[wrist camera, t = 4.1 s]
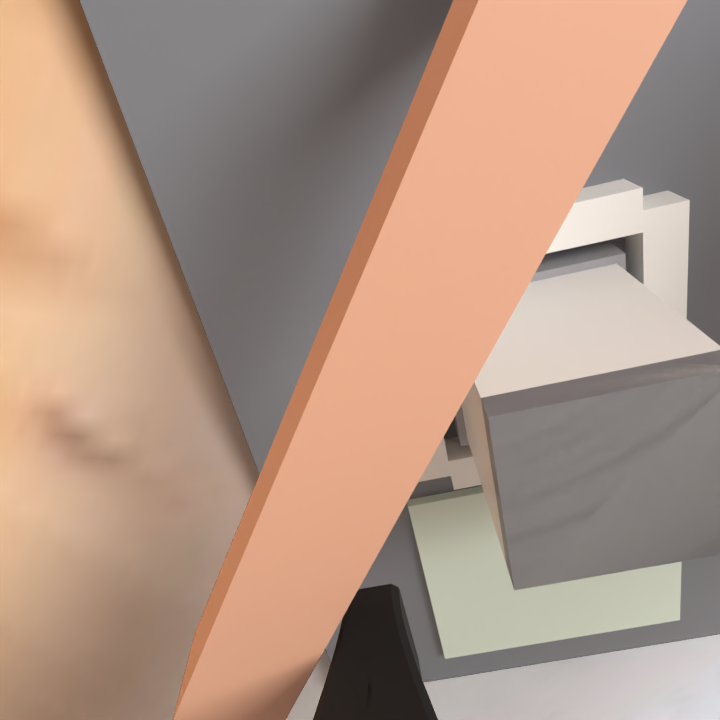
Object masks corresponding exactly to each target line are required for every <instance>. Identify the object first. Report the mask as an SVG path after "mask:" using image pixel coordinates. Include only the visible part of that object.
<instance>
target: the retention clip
mask: <svg viewBox="0 0 720 720" xmlns="http://www.w3.org/2000/svg"><path fill="white" fill-rule="evenodd" d="M686 2H687V0H453V2H452V5H451V7H450V10H449V12H448V14H447V17H446V19H445V22H444V24H443V27H442V29H441V32H440V34H439V36H438V39H437V41H436V44H435V46H434V49H433V51H432V54H431V56H430V59H429V61H428V63H427V66H426V68H425V71H424V73H423V76H422V78H421V81H420V83H419V85H418V88H417V90H416V93H415V95H414V98H413V100H412V103H411V105H410V108H409V110H408V112H407V115H406V117H405V120H404V122H403V125H402V127H401V130H400V132H399V135H398V137H397V139H396V142H395V144H394V147H393V149H392V152H391V154H390V157H389V159H388V161H387V164H386V166H385V169H384V171H383V174H382V176H381V179H380V181H379V184H378V186H377V188H376V191H375V193H374V196H373V198H372V201H371V203H370V206H369V208H368V210H367V213H366V215H365V218H364V220H363V223H362V225H361V228H360V230H359V233H358V235H357V237H356V240H355V242H354V245H353V247H352V250H351V252H350V255H349V257H348V260H347V262H346V264H345V267H344V269H343V272H342V274H341V277H340V279H339V282H338V284H337V286H336V289H335V291H334V294H333V296H332V299H331V301H330V304H329V306H328V309H327V311H326V313H325V316H324V318H323V321H322V323H321V326H320V328H319V331H318V333H317V335H316V338H315V340H314V343H313V345H312V348H311V350H310V353H309V355H308V358H307V360H306V362H305V365H304V367H303V370H302V372H301V375H300V377H299V380H298V382H297V385H296V387H295V389H294V392H293V394H292V397H291V399H290V402H289V404H288V407H287V409H286V411H285V414H284V416H283V419H282V421H281V424H280V426H279V429H278V431H277V434H276V436H275V438H274V441H273V443H272V446H271V448H270V451H269V453H268V456H267V458H266V460H265V463H264V465H263V468H262V470H261V473H260V475H259V478H258V480H257V483H256V485H255V487H254V490H253V492H252V495H251V497H250V500H249V502H248V505H247V507H246V510H245V512H244V514H243V517H242V519H241V522H240V524H239V527H238V529H237V532H236V534H235V536H234V539H233V541H232V544H231V546H230V549H229V551H228V554H227V556H226V559H225V561H224V563H223V566H222V568H221V571H220V573H219V576H218V578H217V581H216V583H215V585H214V588H213V590H212V593H211V595H210V598H209V600H208V603H207V605H206V608H205V610H204V612H203V615H202V617H201V620H200V622H199V625H198V627H197V630H196V632H195V635H194V639H193V643H192V647H191V651H190V655H189V659H188V662H187V666H186V670H185V674H184V678H183V682H182V686H181V690H180V693H179V697H178V701H177V705H176V709H175V713H174V717H173V720H286V718H287V716H288V714H289V713H290V711H291V709H292V707H293V705H294V704H295V702H296V700H297V698H298V696H299V695H300V693H301V691H302V689H303V688H304V686H305V684H306V682H307V680H308V679H309V677H310V675H311V673H312V671H313V670H314V668H315V666H316V664H317V662H318V661H319V659H320V657H321V655H322V654H323V652H324V650H325V648H326V646H327V645H328V643H329V641H330V639H331V637H332V636H333V634H334V632H335V630H336V628H337V627H338V625H339V623H340V621H341V620H342V618H343V616H344V614H345V612H346V611H347V609H348V607H349V605H350V603H351V602H352V600H353V598H354V596H355V594H356V593H357V591H358V589H359V587H360V586H361V584H362V582H363V580H364V578H365V577H366V575H367V573H368V571H369V569H370V568H371V566H372V564H373V562H374V560H375V559H376V557H377V555H378V553H379V551H380V550H381V548H382V546H383V544H384V543H385V541H386V539H387V537H388V535H389V534H390V532H391V530H392V528H393V526H394V525H395V523H396V521H397V519H398V517H399V516H400V514H401V512H402V510H403V509H404V507H405V505H406V503H407V501H408V500H409V498H410V496H411V494H412V492H413V491H414V489H415V487H416V485H417V483H418V482H419V480H420V478H421V476H422V475H423V473H424V471H425V469H426V467H427V466H428V464H429V462H430V460H431V458H432V457H433V455H434V453H435V451H436V449H437V448H438V446H439V444H440V442H441V441H442V439H443V437H444V435H445V433H446V432H447V430H448V428H449V426H450V424H451V423H452V421H453V419H454V417H455V415H456V414H457V412H458V410H459V408H460V407H461V405H462V403H463V401H464V399H465V398H466V396H467V394H468V392H469V390H470V389H471V387H472V385H473V383H474V381H475V380H476V378H477V376H478V374H479V373H480V371H481V369H482V367H483V365H484V364H485V362H486V360H487V358H488V356H489V355H490V353H491V351H492V349H493V347H494V346H495V344H496V342H497V340H498V339H499V337H500V335H501V333H502V331H503V330H504V328H505V326H506V324H507V322H508V321H509V319H510V317H511V315H512V313H513V312H514V310H515V308H516V306H517V304H518V303H519V301H520V299H521V297H522V296H523V294H524V292H525V290H526V288H527V287H528V285H529V283H530V281H531V279H532V278H533V276H534V274H535V272H536V270H537V269H538V267H539V265H540V263H541V262H542V260H543V258H544V256H545V254H546V253H547V251H548V249H549V247H550V245H551V244H552V242H553V240H554V238H555V236H556V235H557V233H558V231H559V229H560V228H561V226H562V224H563V222H564V220H565V219H566V217H567V215H568V213H569V211H570V210H571V208H572V206H573V204H574V202H575V201H576V199H577V197H578V195H579V194H580V192H581V190H582V188H583V186H584V185H585V183H586V181H587V179H588V177H589V176H590V174H591V172H592V170H593V168H594V167H595V165H596V163H597V161H598V160H599V158H600V156H601V154H602V152H603V151H604V149H605V147H606V145H607V143H608V142H609V140H610V138H611V136H612V134H613V133H614V131H615V129H616V127H617V126H618V124H619V122H620V120H621V118H622V117H623V115H624V113H625V111H626V109H627V108H628V106H629V104H630V102H631V100H632V99H633V97H634V95H635V93H636V92H637V90H638V88H639V86H640V84H641V83H642V81H643V79H644V77H645V75H646V74H647V72H648V70H649V68H650V66H651V65H652V63H653V61H654V59H655V57H656V56H657V54H658V52H659V50H660V49H661V47H662V45H663V43H664V41H665V40H666V38H667V36H668V34H669V32H670V31H671V29H672V27H673V25H674V23H675V22H676V20H677V18H678V16H679V15H680V13H681V11H682V9H683V7H684V6H685V4H686Z"/></svg>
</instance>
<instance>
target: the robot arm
mask: <svg viewBox="0 0 720 720" xmlns="http://www.w3.org/2000/svg"><path fill="white" fill-rule="evenodd" d="M313 720H438V719H437V716H436V714H435V711H434V709H433V706H432V704H431V701H430V699H429V696H428V694H427V691H426V689H425V686H424V684H423V681H422V676H421V670H420V665H419V659H418V655H417V651H416V648H415V644H414V640H413V637H412V633H411V629H410V626H409V622H408V619H407V615H406V611H405V608H404V604H403V600H402V597H401V593H400V590H399V587H397V586H395V585H393V584H386V585H380V586H375V587H369V588H363V589H358V591H357V593H356V594H355V596H354V598H353V600H352V602H351V603H350V605H349V607H348V609H347V611H346V612H345V614H344V616H343V619H342V623H341V627H340V631H339V635H338V639H337V643H336V647H335V651H334V654H333V658H332V661H331V665H330V668H329V672H328V675H327V678H326V681H325V684H324V688H323V691H322V694H321V697H320V700H319V703H318V706H317V709H316V712H315V715H314V718H313Z"/></svg>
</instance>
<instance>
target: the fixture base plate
mask: <svg viewBox="0 0 720 720" xmlns="http://www.w3.org/2000/svg"><path fill="white" fill-rule="evenodd" d="M452 2H453V0H80V3H81V6H82V8H83V11H84V13H85V16H86V19H87V21H88V24H89V27H90V29H91V32H92V35H93V37H94V40H95V42H96V45H97V48H98V50H99V53H100V56H101V58H102V61H103V64H104V66H105V69H106V71H107V74H108V77H109V79H110V82H111V85H112V87H113V90H114V93H115V95H116V98H117V100H118V103H119V106H120V108H121V111H122V114H123V116H124V119H125V122H126V124H127V127H128V130H129V132H130V135H131V137H132V140H133V143H134V145H135V148H136V151H137V153H138V156H139V159H140V161H141V164H142V166H143V169H144V172H145V174H146V177H147V180H148V182H149V185H150V188H151V190H152V193H153V195H154V198H155V201H156V203H157V206H158V209H159V211H160V214H161V217H162V219H163V222H164V224H165V227H166V230H167V232H168V235H169V238H170V240H171V243H172V246H173V248H174V251H175V253H176V256H177V259H178V261H179V264H180V267H181V269H182V272H183V275H184V277H185V280H186V283H187V285H188V288H189V290H190V293H191V296H192V298H193V301H194V304H195V306H196V309H197V312H198V314H199V317H200V319H201V322H202V325H203V327H204V330H205V333H206V335H207V338H208V341H209V343H210V346H211V348H212V351H213V354H214V356H215V359H216V362H217V364H218V367H219V370H220V372H221V375H222V377H223V380H224V383H225V385H226V388H227V391H228V393H229V396H230V399H231V401H232V404H233V406H234V409H235V412H236V414H237V417H238V420H239V422H240V425H241V428H242V430H243V433H244V436H245V438H246V441H247V443H248V446H249V449H250V451H251V454H252V457H253V459H254V462H255V465H256V467H257V470H258V472H259V475H260V473H261V470H262V468H263V465H264V463H265V460H266V458H267V456H268V453H269V451H270V448H271V446H272V443H273V441H274V438H275V436H276V434H277V431H278V429H279V426H280V424H281V421H282V419H283V416H284V414H285V411H286V409H287V407H288V404H289V402H290V399H291V397H292V394H293V392H294V389H295V387H296V385H297V382H298V380H299V377H300V375H301V372H302V370H303V367H304V365H305V362H306V360H307V358H308V355H309V353H310V350H311V348H312V345H313V343H314V340H315V338H316V335H317V333H318V331H319V328H320V326H321V323H322V321H323V318H324V316H325V313H326V311H327V309H328V306H329V304H330V301H331V299H332V296H333V294H334V291H335V289H336V286H337V284H338V282H339V279H340V277H341V274H342V272H343V269H344V267H345V264H346V262H347V260H348V257H349V255H350V252H351V250H352V247H353V245H354V242H355V240H356V237H357V235H358V233H359V230H360V228H361V225H362V223H363V220H364V218H365V215H366V213H367V210H368V208H369V206H370V203H371V201H372V198H373V196H374V193H375V191H376V188H377V186H378V184H379V181H380V179H381V176H382V174H383V171H384V169H385V166H386V164H387V161H388V159H389V157H390V154H391V152H392V149H393V147H394V144H395V142H396V139H397V137H398V135H399V132H400V130H401V127H402V125H403V122H404V120H405V117H406V115H407V112H408V110H409V108H410V105H411V103H412V100H413V98H414V95H415V93H416V90H417V88H418V85H419V83H420V81H421V78H422V76H423V73H424V71H425V68H426V66H427V63H428V61H429V59H430V56H431V54H432V51H433V49H434V46H435V44H436V41H437V39H438V36H439V34H440V32H441V29H442V27H443V24H444V22H445V19H446V17H447V14H448V12H449V10H450V7H451V5H452ZM605 241H609V242H611V243H612V244H614V245H615V246H616V247H618V248H619V249H620V250H622V251H623V252H624V253H625V256H626V271H627V272H628V273H629V274H631V275H632V276H633V277H634V278H636V279H637V280H638V281H639V282H641V283H642V284H643V285H644V286H646V287H647V288H648V289H649V290H651V291H652V292H653V293H654V294H656V295H657V296H658V297H659V298H661V299H662V300H663V301H664V302H666V303H667V304H668V305H669V306H671V307H672V308H673V309H674V310H676V311H677V312H678V313H679V314H681V315H682V316H683V317H684V318H686V319H687V320H688V321H689V322H691V323H692V324H693V325H694V326H696V327H697V328H698V329H699V330H701V331H702V332H703V333H704V334H706V335H707V336H708V337H709V338H711V339H712V340H713V341H714V342H716V343H717V344H718V345H719V346H720V0H687V2H686V4H685V6H684V7H683V9H682V11H681V13H680V15H679V16H678V18H677V20H676V22H675V23H674V25H673V27H672V29H671V31H670V32H669V34H668V36H667V38H666V40H665V41H664V43H663V45H662V47H661V49H660V50H659V52H658V54H657V56H656V57H655V59H654V61H653V63H652V65H651V66H650V68H649V70H648V72H647V74H646V75H645V77H644V79H643V81H642V83H641V84H640V86H639V88H638V90H637V92H636V93H635V95H634V97H633V99H632V100H631V102H630V104H629V106H628V108H627V109H626V111H625V113H624V115H623V117H622V118H621V120H620V122H619V124H618V126H617V127H616V129H615V131H614V133H613V134H612V136H611V138H610V140H609V142H608V143H607V145H606V147H605V149H604V151H603V152H602V154H601V156H600V158H599V160H598V161H597V163H596V165H595V167H594V168H593V170H592V172H591V174H590V176H589V177H588V179H587V181H586V183H585V185H584V186H583V188H582V190H581V192H580V194H579V195H578V197H577V199H576V201H575V202H574V204H573V206H572V208H571V210H570V211H569V213H568V215H567V217H566V219H565V220H564V222H563V224H562V226H561V228H560V229H559V231H558V233H557V235H556V236H555V238H554V240H553V242H552V244H551V245H550V247H549V249H548V251H547V253H546V254H550V253H555V252H559V251H564V250H568V249H573V248H578V247H582V246H587V245H591V244H596V243H600V242H605ZM546 254H545V255H546ZM386 584H393V585H395V586H397V587H399V590H400V593H401V597H402V600H403V604H404V608H405V611H406V615H407V619H408V622H409V626H410V629H411V633H412V637H413V640H414V644H415V648H416V651H417V655H418V659H419V665H420V670H421V676H422V681H423V682H429V681H435V680H441V679H448V678H454V677H460V676H466V675H472V674H478V673H484V672H491V671H497V670H503V669H509V668H515V667H521V666H527V665H534V664H540V663H546V662H552V661H558V660H564V659H570V658H577V657H583V656H589V655H595V654H601V653H607V652H613V651H620V650H626V649H632V648H638V647H644V646H650V645H657V644H663V643H669V642H675V641H681V640H687V639H693V638H700V637H706V636H712V635H718V634H720V555H716V556H710V557H705V558H699V559H693V560H687V561H682V562H676V563H670V564H664V565H659V566H653V567H647V568H641V569H635V570H630V571H624V572H618V573H612V574H607V575H601V576H595V577H589V578H584V579H578V580H572V581H566V582H561V583H555V584H549V585H543V586H537V587H532V588H526V589H520V590H514V588H513V584H512V581H511V578H510V575H509V572H508V568H507V565H506V562H505V559H504V555H503V552H502V549H501V546H500V543H499V539H498V536H497V533H496V530H495V526H494V523H493V520H492V517H491V513H490V510H489V507H488V504H487V501H486V497H485V494H484V491H483V488H482V484H481V481H480V478H479V475H478V471H477V468H476V465H475V462H474V459H473V455H472V452H471V449H470V446H469V445H466V446H461V445H460V441H459V438H458V434H457V431H456V427H455V423H454V419H453V421H452V423H451V424H450V426H449V428H448V430H447V432H446V433H445V435H444V437H443V439H442V441H441V442H440V444H439V446H438V448H437V449H436V451H435V453H434V455H433V457H432V458H431V460H430V462H429V464H428V466H427V467H426V469H425V471H424V473H423V475H422V476H421V478H420V480H419V482H418V483H417V485H416V487H415V489H414V491H413V492H412V494H411V496H410V498H409V500H408V501H407V503H406V505H405V507H404V509H403V510H402V512H401V514H400V516H399V517H398V519H397V521H396V523H395V525H394V526H393V528H392V530H391V532H390V534H389V535H388V537H387V539H386V541H385V543H384V544H383V546H382V548H381V550H380V551H379V553H378V555H377V557H376V559H375V560H374V562H373V564H372V566H371V568H370V569H369V571H368V573H367V575H366V577H365V578H364V580H363V582H362V584H361V586H360V587H359V589H363V588H369V587H375V586H380V585H386ZM342 619H343V618H342ZM341 623H342V620H341V621H340V623H339V625H338V627H337V628H336V630H335V632H334V634H333V636H332V637H331V639H330V641H329V643H328V645H327V646H326V648H325V649H326V652H327V654H328V657H329V660H330V662H331V661H332V658H333V654H334V651H335V647H336V643H337V639H338V635H339V631H340V627H341Z"/></svg>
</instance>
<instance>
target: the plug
mask: <svg viewBox="0 0 720 720" xmlns="http://www.w3.org/2000/svg"><path fill="white" fill-rule="evenodd" d="M454 423H455V427H456V431H457V434H458V438H459V441H460V445H461V446H466V445H469V446H470V449H471V452H472V455H473V459H474V462H475V465H476V468H477V471H478V475H479V478H480V481H481V484H482V488H483V491H484V494H485V497H486V501H487V504H488V507H489V510H490V513H491V517H492V520H493V523H494V526H495V530H496V533H497V536H498V539H499V543H500V546H501V549H502V552H503V555H504V559H505V562H506V565H507V568H508V572H509V575H510V578H511V581H512V584H513V588H514V590H520V589H526V588H532V587H537V586H543V585H549V584H555V583H561V582H566V581H572V580H578V579H584V578H589V577H595V576H601V575H607V574H612V573H618V572H624V571H630V570H635V569H641V568H647V567H653V566H659V565H664V564H670V563H676V562H682V561H687V560H693V559H699V558H705V557H710V556H716V555H720V346H719V345H718V344H717V343H716V342H714V341H713V340H712V339H711V338H709V337H708V336H707V335H706V334H704V333H703V332H702V331H701V330H699V329H698V328H697V327H696V326H694V325H693V324H692V323H691V322H689V321H688V320H687V319H686V318H684V317H683V316H682V315H681V314H679V313H678V312H677V311H676V310H674V309H673V308H672V307H671V306H669V305H668V304H667V303H666V302H664V301H663V300H662V299H661V298H659V297H658V296H657V295H656V294H654V293H653V292H652V291H651V290H649V289H648V288H647V287H646V286H644V285H643V284H642V283H641V282H639V281H638V280H637V279H636V278H634V277H633V276H632V275H631V274H629V273H628V272H627V271H626V256H625V253H624V252H623V251H622V250H620V249H619V248H618V247H616V246H615V245H614V244H612V243H611V242H609V241H605V242H600V243H596V244H591V245H587V246H582V247H578V248H573V249H568V250H564V251H559V252H555V253H550V254H546V255H545V256H544V258H543V260H542V262H541V263H540V265H539V267H538V269H537V270H536V272H535V274H534V276H533V278H532V279H531V281H530V283H529V285H528V287H527V288H526V290H525V292H524V294H523V296H522V297H521V299H520V301H519V303H518V304H517V306H516V308H515V310H514V312H513V313H512V315H511V317H510V319H509V321H508V322H507V324H506V326H505V328H504V330H503V331H502V333H501V335H500V337H499V339H498V340H497V342H496V344H495V346H494V347H493V349H492V351H491V353H490V355H489V356H488V358H487V360H486V362H485V364H484V365H483V367H482V369H481V371H480V373H479V374H478V376H477V378H476V380H475V381H474V383H473V385H472V387H471V389H470V390H469V392H468V394H467V396H466V398H465V399H464V401H463V403H462V405H461V407H460V408H459V410H458V412H457V414H456V415H455V417H454Z"/></svg>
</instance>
